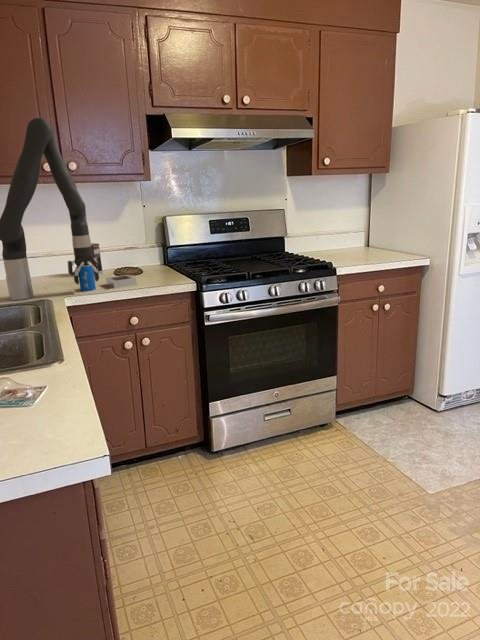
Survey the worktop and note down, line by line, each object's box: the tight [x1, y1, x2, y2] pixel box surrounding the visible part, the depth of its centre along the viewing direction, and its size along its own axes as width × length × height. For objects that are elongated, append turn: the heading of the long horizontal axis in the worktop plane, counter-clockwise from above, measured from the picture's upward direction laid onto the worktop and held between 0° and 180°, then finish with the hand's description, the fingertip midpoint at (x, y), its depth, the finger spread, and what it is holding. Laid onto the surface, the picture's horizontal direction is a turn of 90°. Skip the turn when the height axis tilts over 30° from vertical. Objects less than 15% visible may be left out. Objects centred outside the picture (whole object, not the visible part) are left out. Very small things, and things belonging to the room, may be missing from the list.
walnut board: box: [99, 284, 114, 291], centre depth 219 cm, size 15×10×1 cm, turn 124°
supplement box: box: [91, 242, 103, 276], centre depth 248 cm, size 9×5×16 cm, turn 60°
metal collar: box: [105, 274, 138, 289], centre depth 219 cm, size 10×10×3 cm
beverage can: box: [77, 265, 96, 292], centre depth 211 cm, size 6×6×12 cm
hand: (87, 282), depth 212 cm, fingers open, 8 cm apart
